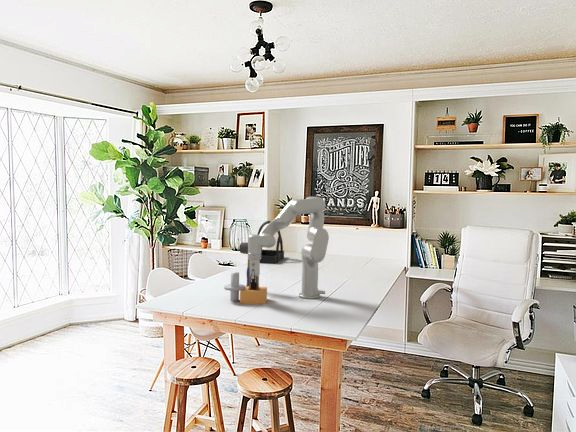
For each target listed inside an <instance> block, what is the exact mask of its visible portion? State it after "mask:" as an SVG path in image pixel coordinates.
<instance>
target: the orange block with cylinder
mask: <svg viewBox="0 0 576 432" xmlns="http://www.w3.org/2000/svg"><path fill="white" fill-rule="evenodd" d="M223 288H224V290H226V291H229V292H230V302H238V301H239V304H248V305H249V304H250V305H265V304H266V302H267V300H268V299H267V298H268V287H267V286H259V290H249V286H246V285H245V284H241V283H240V272H239V271H232V272H230V284H225V285H224V287H223Z"/></svg>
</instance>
